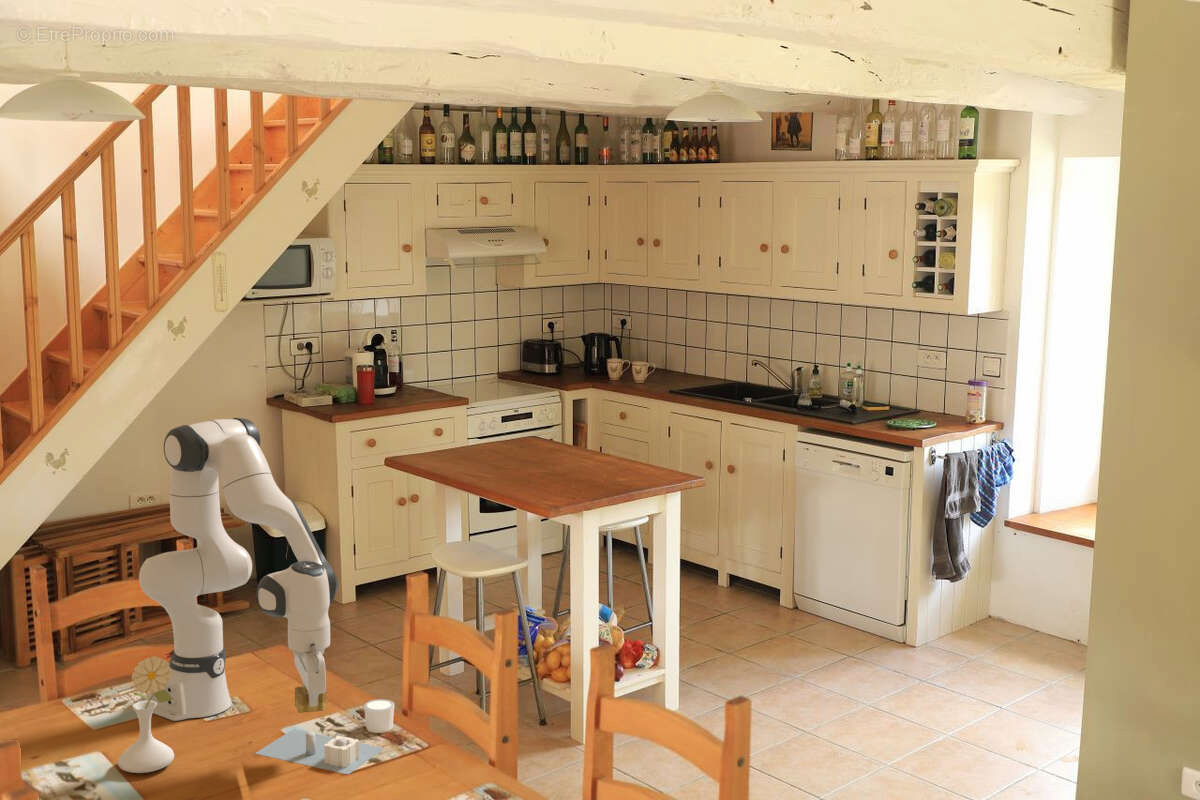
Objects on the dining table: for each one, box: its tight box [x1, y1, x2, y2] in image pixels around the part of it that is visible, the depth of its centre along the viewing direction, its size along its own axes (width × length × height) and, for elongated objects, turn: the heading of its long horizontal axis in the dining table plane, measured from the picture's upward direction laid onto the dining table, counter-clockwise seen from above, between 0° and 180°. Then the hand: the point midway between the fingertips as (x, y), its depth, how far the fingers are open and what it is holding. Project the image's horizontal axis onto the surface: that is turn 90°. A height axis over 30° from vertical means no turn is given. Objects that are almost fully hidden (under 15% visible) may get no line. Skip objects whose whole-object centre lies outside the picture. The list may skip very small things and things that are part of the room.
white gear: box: [324, 735, 360, 768], centre depth 256 cm, size 7×7×4 cm
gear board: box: [254, 728, 385, 775], centre depth 261 cm, size 24×14×6 cm, turn 68°
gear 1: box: [294, 685, 327, 714], centre depth 257 cm, size 7×7×4 cm
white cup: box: [363, 698, 396, 734], centre depth 273 cm, size 7×7×7 cm
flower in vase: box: [117, 655, 175, 774], centre depth 253 cm, size 13×11×25 cm
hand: (310, 699), depth 257 cm, fingers closed on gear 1, 6 cm apart
